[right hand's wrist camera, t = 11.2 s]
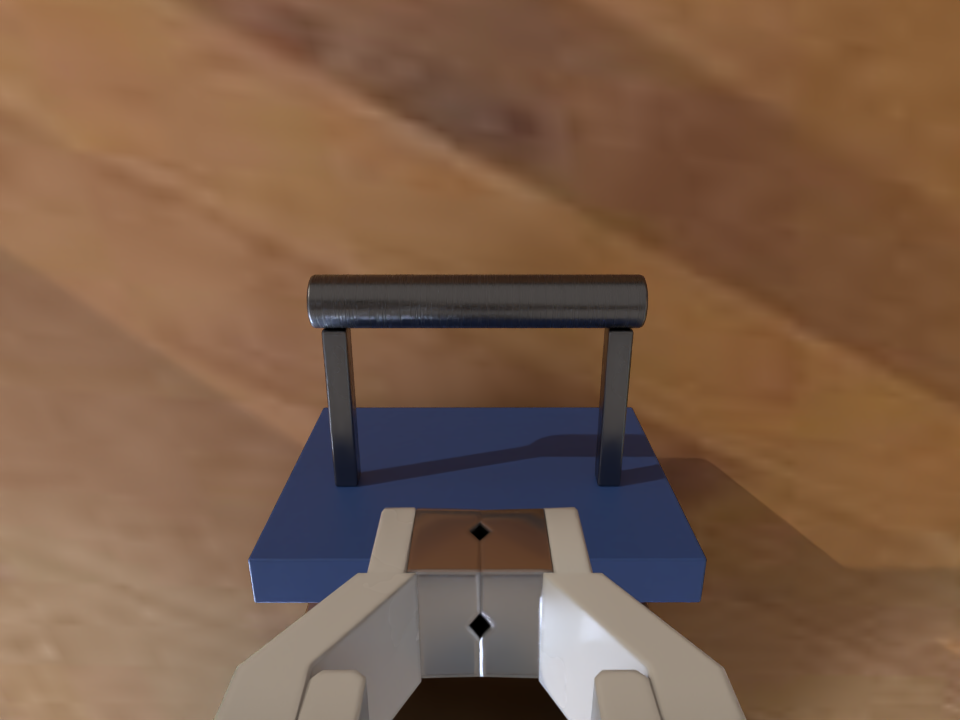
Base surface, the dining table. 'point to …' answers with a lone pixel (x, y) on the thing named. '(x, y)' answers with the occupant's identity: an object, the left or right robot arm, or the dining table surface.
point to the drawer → (477, 460)
